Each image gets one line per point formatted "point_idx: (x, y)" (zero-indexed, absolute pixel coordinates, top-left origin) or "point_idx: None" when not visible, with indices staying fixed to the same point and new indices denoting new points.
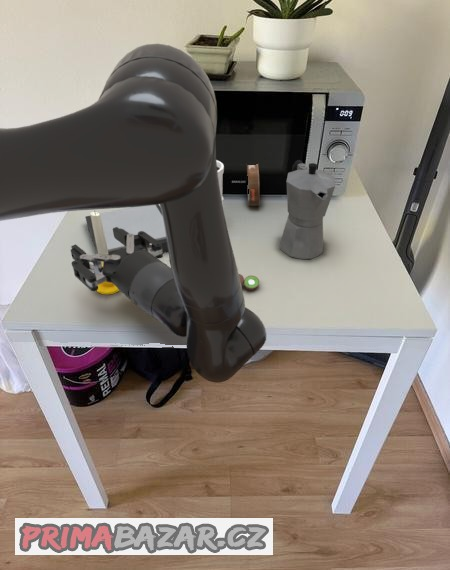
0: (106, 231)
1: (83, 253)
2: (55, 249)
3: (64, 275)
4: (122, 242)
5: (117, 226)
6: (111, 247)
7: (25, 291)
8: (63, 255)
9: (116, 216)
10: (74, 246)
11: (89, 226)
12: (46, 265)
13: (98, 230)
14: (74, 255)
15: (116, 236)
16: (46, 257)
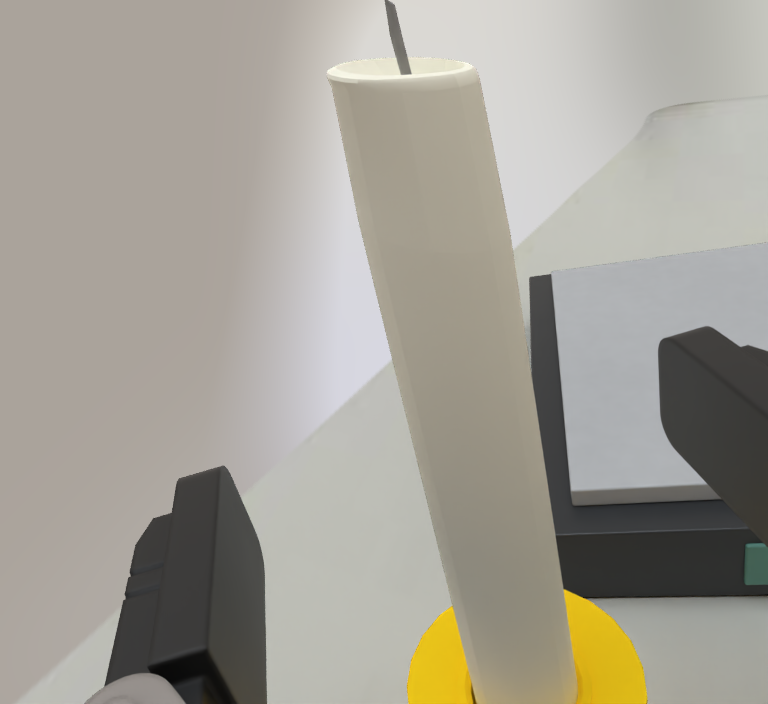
0: (613, 357)
1: (175, 648)
2: (359, 415)
3: (311, 594)
4: (762, 521)
5: None
6: (627, 477)
7: (82, 649)
8: (373, 454)
9: (685, 281)
10: (190, 493)
11: (532, 322)
12: (275, 496)
13: (433, 344)
14: (130, 615)
15: (689, 429)
16: (302, 450)
